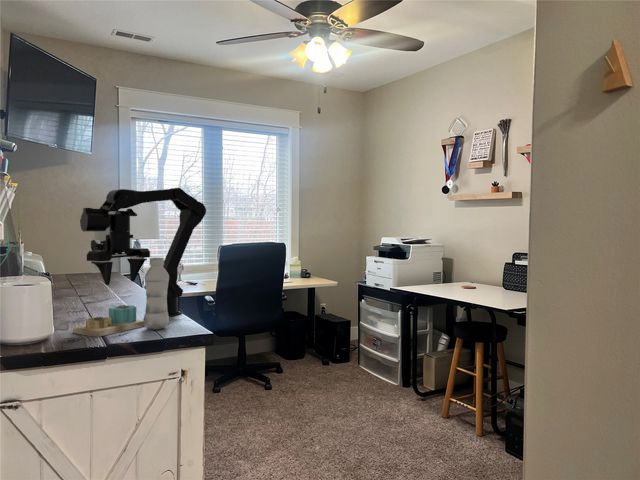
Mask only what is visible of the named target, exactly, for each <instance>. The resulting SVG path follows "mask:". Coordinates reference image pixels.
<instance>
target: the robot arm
mask: <svg viewBox="0 0 640 480" xmlns="http://www.w3.org/2000/svg"><path fill="white" fill-rule="evenodd" d="M164 201H165V202H166V201H171V202H172V203H173V205H174V206H175V208H176V209H178V210H179V211H180V212H179V216H178V217H179V225H178V228H177V230H176V233H175V235H174V237H173V239H172V242H171V244H170V246H169V249H168V251H167V253H166V256H165V258H164V265H163V267H164V268H165V270H166V271H167V272H168V274H169V283H168V289H167V312H168V316H169V317H173V316H177V315H178V316H179V315H182V314H183V313H184V312H183V311H180V297H182V296H183V292H184V289H182V288H181V286H180V285H179V284H177V281H178V279H179V278H178V276H179V274H178V273H179V272H178V267H179V266H180V263H181V260H182V258H183V256H184V253H185V250H186V248H187V246H188V244H189V241H190V240H191V236H192V235H193V231H194V229H195V228H196V227H197V226H198V225H199V224H200V223H201V222H202V221H203V219H204V218H205V216H206V213H207V208H206V206H205V204H204V203H203V202H200V201H198V200H197V199H196V198H195V197H193V196H192V195H190V194H188V193H186V191H185V190H183V189H182V188H180V187H173V188H172V187H171V188H167V189H156V190H155V189H154V190H143V191H141V190H133V189H127V188H122V189H113V190H110V191H109V192H108V193H107V194H106V199H105V201H104V202H103V203H102V204H101V206H100V207H99V208H93V207H83V208H82V214H81V216H80V219H79V225H80V230H82V232H84V233H85V232H87V233H88V232H105V231H107V229H109V230H108V231H109V234H106V235H105V240H100V239H92V240H90V249H91V250H89V251H88V252H87V254H86V261H89V262H90V263H91V264H94V266H96V267H97V268H98V270H99V272H100V274H101V276H102V279H103V282H104V284H105V286H110V282H111V279H112V278H111V277H112V270H113V263H114V262H113V261H111V260H112V259H116V258H126V260H127V261H128V263H129V277H130V282H135V280H136V279H137V276H138V274H139V272H140V270H141V268H142V267H143V265H144V263H145V261H147V260H148V258H151V251H150V249H149V248H145V247H144V248H143V247H142V248H141V247H134V248H133V247H131V239H134V234H131V217H137V216H138V214H137V213H136V212H135V211H134V210H133V208H132V207H135V206H136V207H137V206H138V205H140V204H145V203H153V202H154V203H156V202H164ZM122 209H124V210H122ZM125 209H126V210H125ZM110 212H112V213H113V212H115V213H113V214H112V213H110Z"/></svg>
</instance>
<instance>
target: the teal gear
mask: <svg viewBox="0 0 640 480" xmlns="http://www.w3.org/2000/svg"><path fill="white" fill-rule="evenodd" d="M119 306H120V305H115V306H112V307H111V306H110V307H108V317H110V318H111V323H112V324H114V323H116V324H124V323H132V322H134V321H136V319H137V306H135V305H132V304H131V305H126V308H121V309H119Z"/></svg>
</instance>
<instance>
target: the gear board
mask: <svg viewBox="0 0 640 480" xmlns="http://www.w3.org/2000/svg"><path fill="white" fill-rule="evenodd" d="M118 306H119V309H121V308H126V306H127V305H126V304H121V305H118ZM143 327H145V326H144V319H140V318H136V321H134V322H132V323H124V324H116V323H114V324H112V323H111V318H110V317H109V316H95V317H89V318H86V319H85V324H81V325H76V326H72V333H74V334H78V335H79V334H80V335H83V336H88V337H94V338H99V337H103V336H107V335H108V336H109V335H112V334H116V333H120V332H126V331H129V330H134V329H139V328H143Z"/></svg>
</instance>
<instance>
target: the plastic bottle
mask: <svg viewBox="0 0 640 480" xmlns="http://www.w3.org/2000/svg"><path fill="white" fill-rule="evenodd" d="M164 260H165V258H163V257H149V266H150V267H149V268H148V270H147V271H146V272H145V275H144V285H145V296H146V300H145V301H146V302H145V312H144V315H143V316H144V317H143V320H144V326H143V327H145V328H146V329H148V330H153V331H156V330H157V331H158V330H162V329H165V328H166V327H168V325H169V320H170V318H169V317H170V316H168V312H167V289H168V283H169V274H168V272H167V271H166V270H165V268H164V267H163V265H164Z"/></svg>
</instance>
